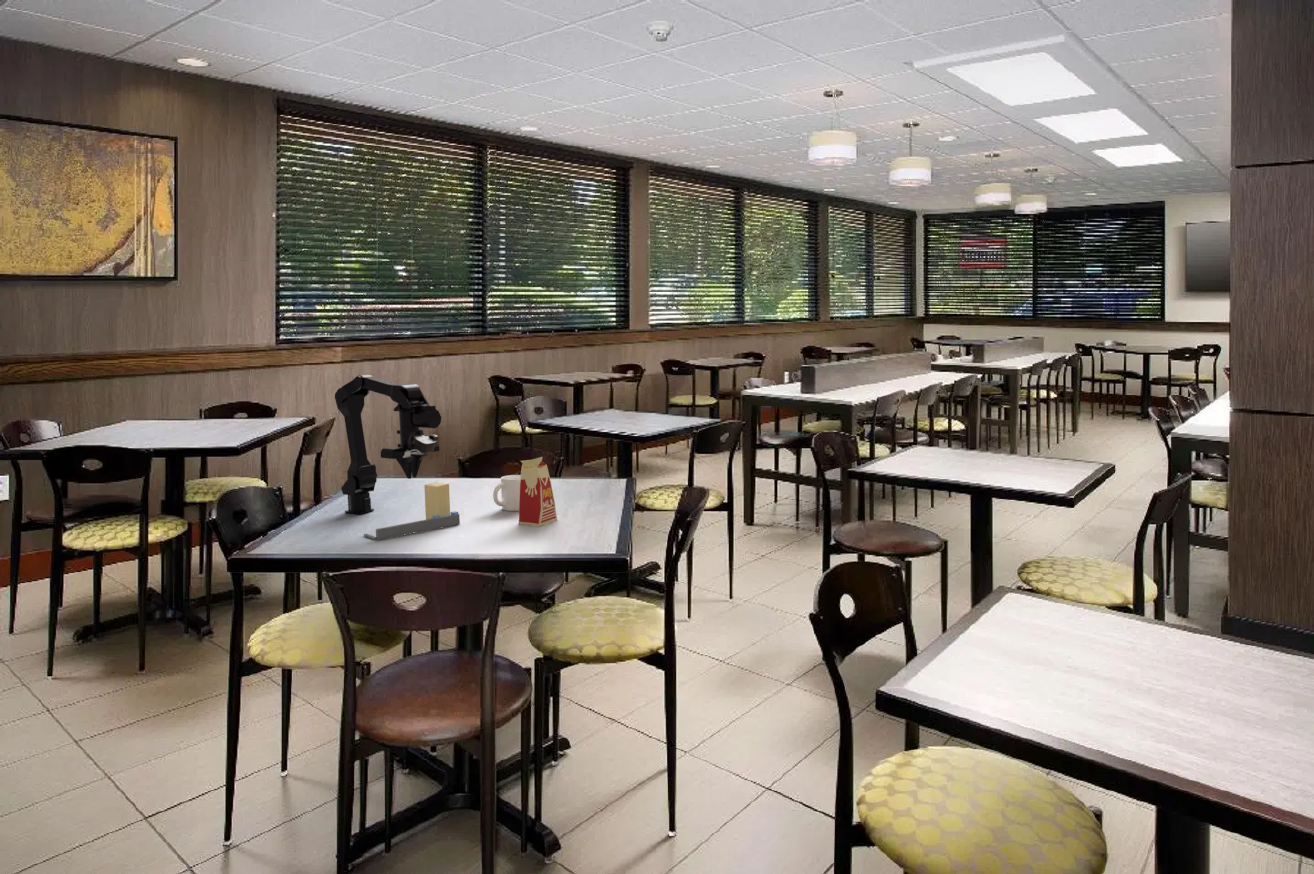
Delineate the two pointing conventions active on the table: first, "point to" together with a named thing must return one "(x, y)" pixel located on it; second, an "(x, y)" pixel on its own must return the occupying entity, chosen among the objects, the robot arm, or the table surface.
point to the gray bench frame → (416, 526)
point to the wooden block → (437, 499)
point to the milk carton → (536, 494)
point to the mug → (508, 492)
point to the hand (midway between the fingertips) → (411, 477)
